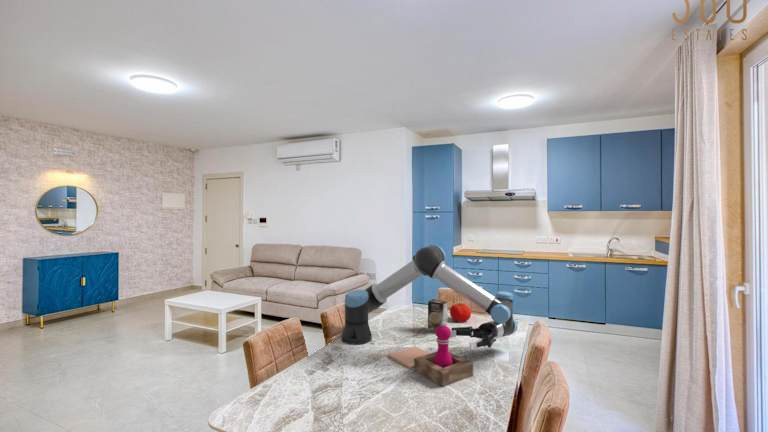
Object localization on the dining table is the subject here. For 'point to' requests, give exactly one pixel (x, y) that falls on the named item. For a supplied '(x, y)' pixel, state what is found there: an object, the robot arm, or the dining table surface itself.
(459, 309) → the tomato
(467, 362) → the walnut holder
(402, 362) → the terracotta tile
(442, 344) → the pepper mill
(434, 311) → the coffee box
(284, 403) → the dining table surface
